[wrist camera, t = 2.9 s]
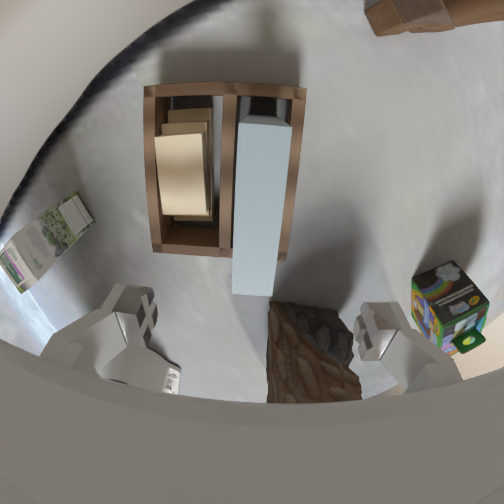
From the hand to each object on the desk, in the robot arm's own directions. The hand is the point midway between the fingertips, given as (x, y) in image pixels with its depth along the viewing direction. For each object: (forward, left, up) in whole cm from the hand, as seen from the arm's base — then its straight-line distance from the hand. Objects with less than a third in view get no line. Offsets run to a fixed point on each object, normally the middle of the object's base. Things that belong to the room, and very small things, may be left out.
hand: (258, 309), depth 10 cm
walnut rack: (0, +4, -23) cm, 23 cm away
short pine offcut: (0, +8, -19) cm, 21 cm away
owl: (-24, -8, -23) cm, 34 cm away
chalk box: (-16, -31, -23) cm, 42 cm away
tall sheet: (0, 0, -23) cm, 23 cm away
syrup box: (-7, +26, -23) cm, 36 cm away
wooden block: (+22, -16, -23) cm, 36 cm away
